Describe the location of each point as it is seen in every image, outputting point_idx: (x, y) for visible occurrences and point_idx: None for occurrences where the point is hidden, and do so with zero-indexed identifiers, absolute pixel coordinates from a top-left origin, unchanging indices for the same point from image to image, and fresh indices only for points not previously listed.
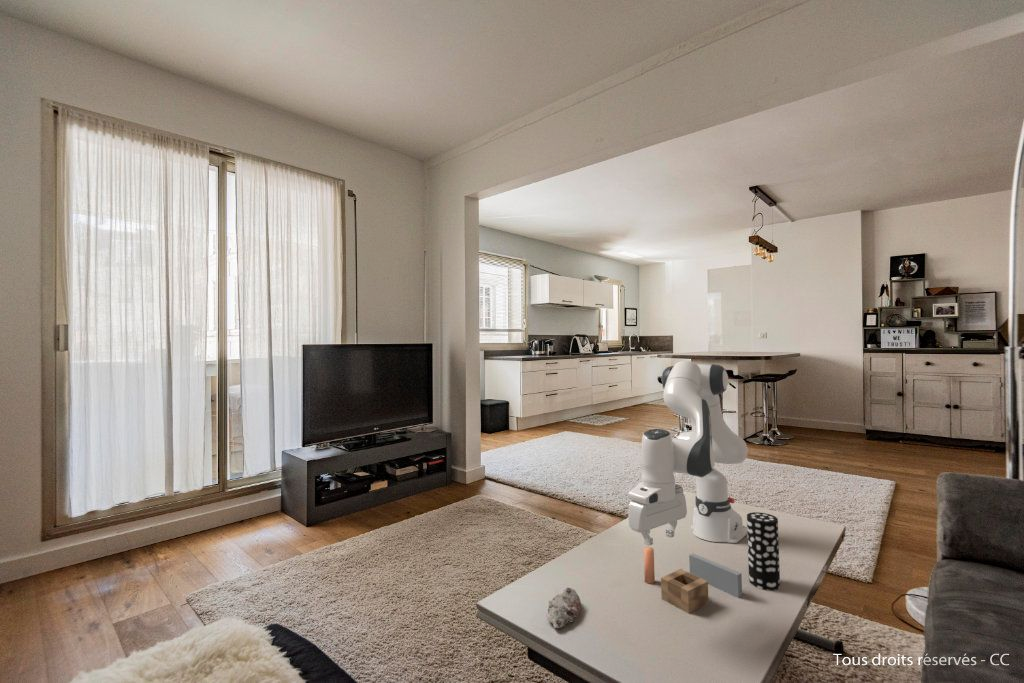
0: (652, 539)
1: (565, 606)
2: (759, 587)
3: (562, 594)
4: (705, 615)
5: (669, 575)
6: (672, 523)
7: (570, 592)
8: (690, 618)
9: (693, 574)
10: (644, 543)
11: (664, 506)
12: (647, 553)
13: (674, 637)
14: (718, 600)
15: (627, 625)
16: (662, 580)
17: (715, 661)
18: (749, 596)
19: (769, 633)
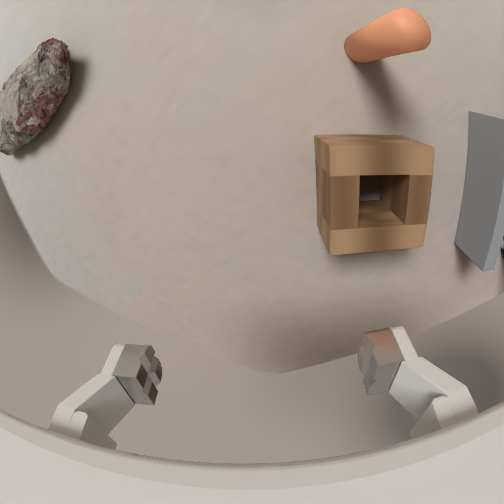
0: (153, 398)
1: (13, 121)
2: (502, 243)
3: (29, 63)
4: None
5: (369, 152)
6: (414, 429)
7: (43, 60)
8: (302, 240)
9: (473, 124)
10: (115, 344)
11: None
12: (388, 35)
13: (209, 269)
14: None
15: (137, 187)
16: (327, 151)
17: (227, 338)
18: None
19: None
